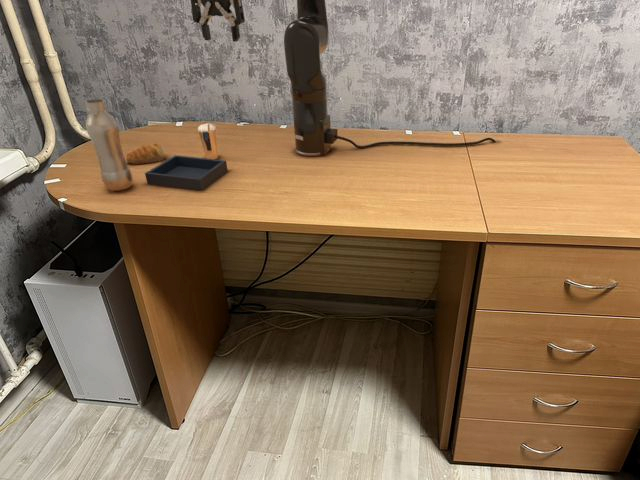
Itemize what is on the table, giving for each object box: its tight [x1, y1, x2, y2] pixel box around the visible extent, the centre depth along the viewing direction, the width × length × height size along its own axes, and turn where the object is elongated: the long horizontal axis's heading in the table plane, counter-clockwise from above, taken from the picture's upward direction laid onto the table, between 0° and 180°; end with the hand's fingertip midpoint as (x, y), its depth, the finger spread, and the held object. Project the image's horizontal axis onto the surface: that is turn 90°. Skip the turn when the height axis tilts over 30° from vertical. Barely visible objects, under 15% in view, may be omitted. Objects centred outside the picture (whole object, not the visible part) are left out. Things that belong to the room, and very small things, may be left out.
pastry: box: [125, 142, 166, 165], centre depth 128 cm, size 9×7×4 cm
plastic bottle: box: [85, 98, 134, 191], centre depth 108 cm, size 6×7×20 cm
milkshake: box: [197, 123, 219, 160], centre depth 127 cm, size 5×5×10 cm
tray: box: [144, 154, 229, 192], centre depth 118 cm, size 15×13×3 cm
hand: (221, 40), depth 133 cm, fingers open, 8 cm apart
